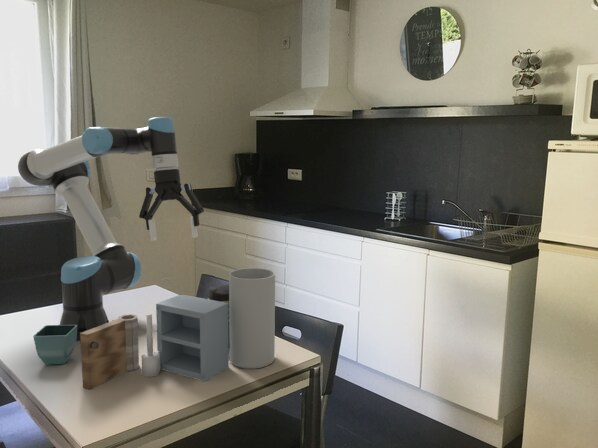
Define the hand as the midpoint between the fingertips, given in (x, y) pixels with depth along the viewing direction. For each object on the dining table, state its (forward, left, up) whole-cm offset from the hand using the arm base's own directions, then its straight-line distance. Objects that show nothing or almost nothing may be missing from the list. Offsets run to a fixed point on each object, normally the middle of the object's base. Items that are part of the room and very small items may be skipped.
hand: (174, 239), depth 160 cm
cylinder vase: (+31, -4, -31) cm, 44 cm away
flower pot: (-15, -31, -31) cm, 47 cm away
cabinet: (+19, -19, -31) cm, 41 cm away
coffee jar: (+18, +1, -31) cm, 36 cm away
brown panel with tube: (+5, -30, -31) cm, 44 cm away
